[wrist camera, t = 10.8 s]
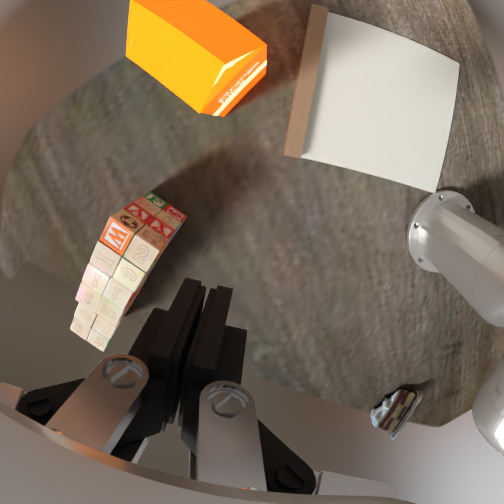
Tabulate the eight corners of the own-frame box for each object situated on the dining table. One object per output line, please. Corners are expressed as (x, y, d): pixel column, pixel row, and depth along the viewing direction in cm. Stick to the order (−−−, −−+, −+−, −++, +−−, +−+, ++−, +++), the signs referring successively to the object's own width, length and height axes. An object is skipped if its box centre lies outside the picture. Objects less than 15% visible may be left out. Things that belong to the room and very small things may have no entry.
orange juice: (213, 31, 31) (169, -40, 13) (267, 73, 33) (270, 23, 15) (171, 76, 34) (92, 43, 15) (223, 118, 36) (182, 113, 17)
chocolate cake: (399, 378, 51) (373, 435, 47) (425, 390, 50) (401, 445, 46) (379, 378, 60) (355, 427, 56) (403, 389, 59) (381, 437, 55)
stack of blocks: (124, 317, 48) (95, 366, 37) (94, 296, 47) (58, 341, 36) (188, 215, 41) (160, 251, 30) (150, 189, 40) (109, 216, 28)
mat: (458, 63, 30) (465, 62, 28) (433, 193, 38) (440, 196, 36) (310, 8, 29) (312, 3, 27) (282, 153, 37) (283, 155, 35)
